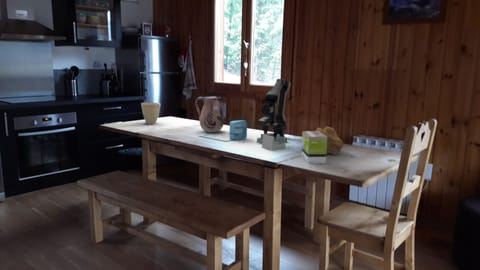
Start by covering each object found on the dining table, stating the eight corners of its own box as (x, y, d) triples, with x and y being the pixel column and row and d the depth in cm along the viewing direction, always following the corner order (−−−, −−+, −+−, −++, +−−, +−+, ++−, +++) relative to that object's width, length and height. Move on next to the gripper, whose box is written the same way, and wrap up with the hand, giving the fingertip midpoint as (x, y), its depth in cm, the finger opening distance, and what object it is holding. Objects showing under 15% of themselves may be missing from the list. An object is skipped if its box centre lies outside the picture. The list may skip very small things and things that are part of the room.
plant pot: (147, 125, 295) (147, 105, 292) (138, 123, 306) (137, 103, 302) (164, 123, 305) (164, 104, 302) (154, 121, 316) (154, 102, 312)
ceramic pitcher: (222, 134, 270) (223, 98, 265) (193, 133, 271) (193, 97, 266) (224, 129, 287) (225, 96, 283) (196, 128, 288) (196, 95, 283)
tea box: (300, 156, 214) (302, 130, 211) (318, 156, 215) (319, 130, 212) (307, 163, 199) (309, 136, 196) (326, 163, 200) (328, 136, 197)
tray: (277, 139, 257) (277, 135, 256) (287, 142, 249) (287, 138, 249) (256, 142, 247) (257, 138, 246) (266, 145, 239) (266, 140, 239)
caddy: (275, 139, 253) (276, 132, 252) (280, 140, 249) (280, 133, 248) (260, 141, 245) (260, 134, 244) (265, 143, 242) (265, 135, 241)
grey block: (276, 145, 239) (277, 133, 238) (286, 148, 232) (287, 135, 231) (262, 147, 233) (262, 134, 231) (271, 150, 226) (272, 137, 224)
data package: (233, 140, 251) (234, 122, 249) (229, 139, 254) (229, 121, 252) (246, 138, 259) (247, 120, 257) (242, 137, 262) (242, 119, 260)
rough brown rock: (334, 160, 210) (339, 134, 207) (306, 153, 219) (310, 128, 216) (347, 153, 230) (351, 129, 227) (321, 147, 238) (325, 124, 235)
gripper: (252, 111, 246) (251, 135, 249) (270, 115, 231) (269, 140, 234) (265, 110, 252) (264, 133, 256) (284, 114, 238) (283, 139, 241)
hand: (270, 136), depth 246 cm, fingers open, 9 cm apart
